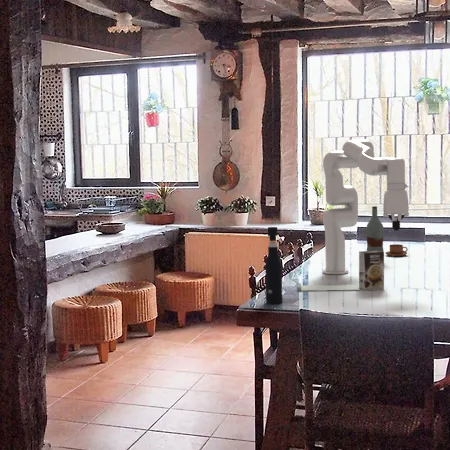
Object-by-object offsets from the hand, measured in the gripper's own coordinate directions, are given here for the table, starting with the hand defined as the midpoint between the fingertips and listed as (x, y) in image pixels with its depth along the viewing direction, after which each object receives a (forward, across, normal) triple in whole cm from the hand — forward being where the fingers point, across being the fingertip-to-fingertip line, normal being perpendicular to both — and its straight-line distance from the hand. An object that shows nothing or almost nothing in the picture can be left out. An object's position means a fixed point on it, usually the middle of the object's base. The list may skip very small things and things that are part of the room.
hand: (396, 230), depth 297 cm
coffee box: (+25, +11, 0) cm, 27 cm away
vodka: (+25, 0, -72) cm, 76 cm away
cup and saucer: (+25, -15, -97) cm, 101 cm away
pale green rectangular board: (+25, +29, 0) cm, 38 cm away
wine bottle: (+25, +52, +27) cm, 64 cm away
